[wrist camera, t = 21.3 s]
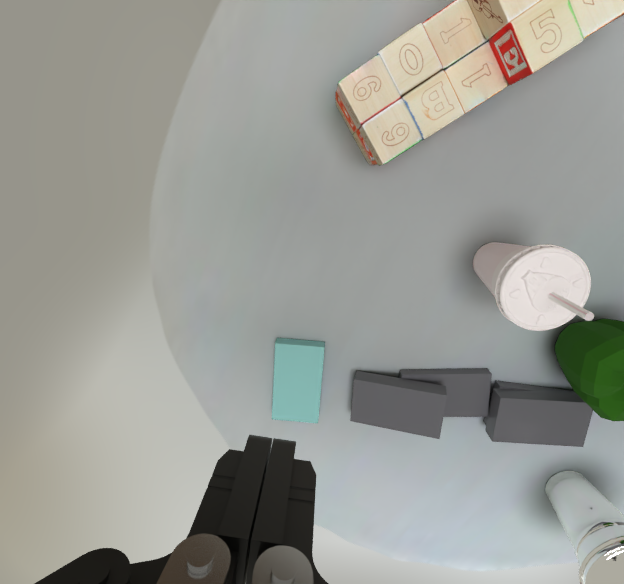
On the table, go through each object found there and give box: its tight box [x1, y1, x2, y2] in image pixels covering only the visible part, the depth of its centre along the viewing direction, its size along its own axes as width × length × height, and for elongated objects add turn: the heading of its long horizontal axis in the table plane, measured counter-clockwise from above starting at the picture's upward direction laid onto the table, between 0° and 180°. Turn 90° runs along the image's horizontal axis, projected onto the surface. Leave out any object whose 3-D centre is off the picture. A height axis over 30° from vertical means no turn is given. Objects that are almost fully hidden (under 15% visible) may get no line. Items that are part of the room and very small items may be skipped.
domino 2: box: [350, 371, 447, 439], centre depth 40 cm, size 2×5×9 cm
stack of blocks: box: [336, 0, 624, 165], centre depth 27 cm, size 21×6×12 cm, turn 122°
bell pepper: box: [555, 319, 624, 421], centre depth 34 cm, size 8×8×10 cm
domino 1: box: [272, 338, 325, 423], centre depth 41 cm, size 2×5×9 cm
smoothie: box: [473, 242, 594, 331], centre depth 30 cm, size 6×6×14 cm
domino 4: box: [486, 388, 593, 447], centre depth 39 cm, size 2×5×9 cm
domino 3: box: [400, 368, 492, 417], centre depth 41 cm, size 2×5×9 cm
